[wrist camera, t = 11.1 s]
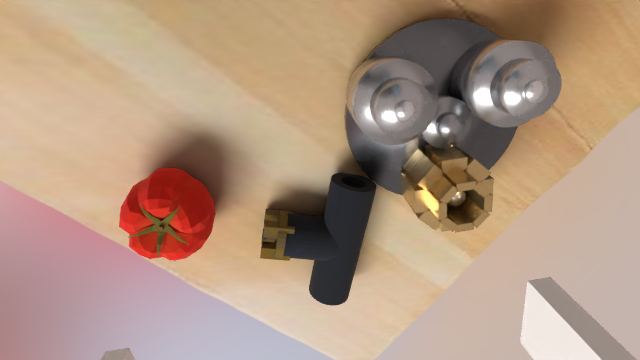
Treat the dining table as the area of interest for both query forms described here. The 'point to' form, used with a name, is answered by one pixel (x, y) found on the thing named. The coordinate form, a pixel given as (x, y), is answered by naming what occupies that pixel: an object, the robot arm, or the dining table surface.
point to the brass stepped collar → (447, 188)
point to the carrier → (444, 96)
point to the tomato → (168, 215)
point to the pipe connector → (324, 236)
